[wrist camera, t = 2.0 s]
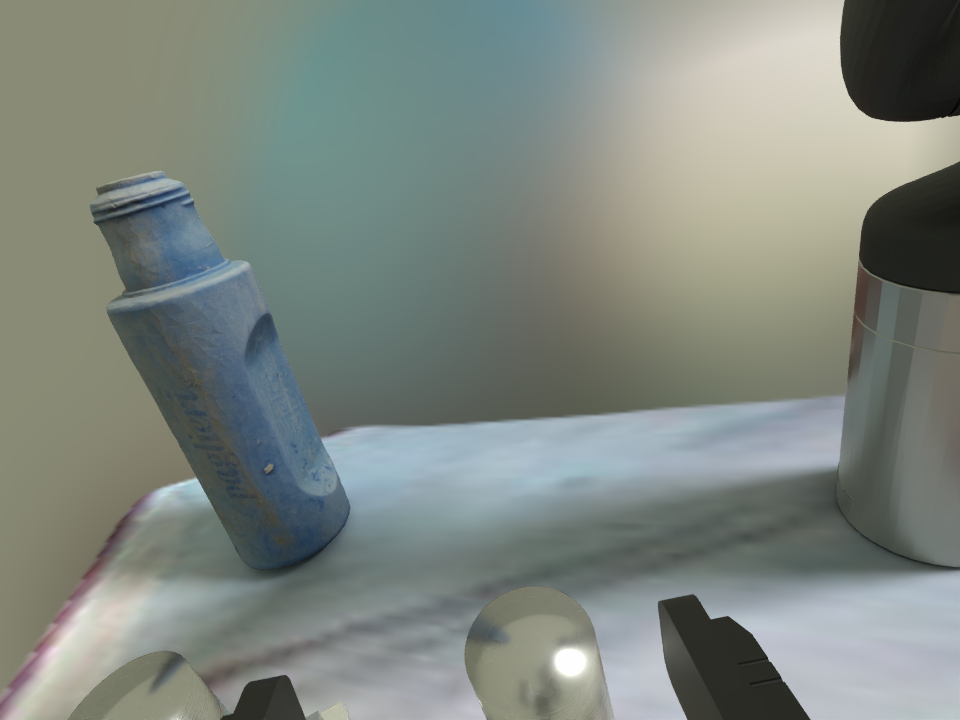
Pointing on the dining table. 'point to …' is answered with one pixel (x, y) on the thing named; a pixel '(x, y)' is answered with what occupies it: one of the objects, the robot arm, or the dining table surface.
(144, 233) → the bottle
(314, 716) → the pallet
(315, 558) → the dining table surface
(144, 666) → the cylinder
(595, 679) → the billet
